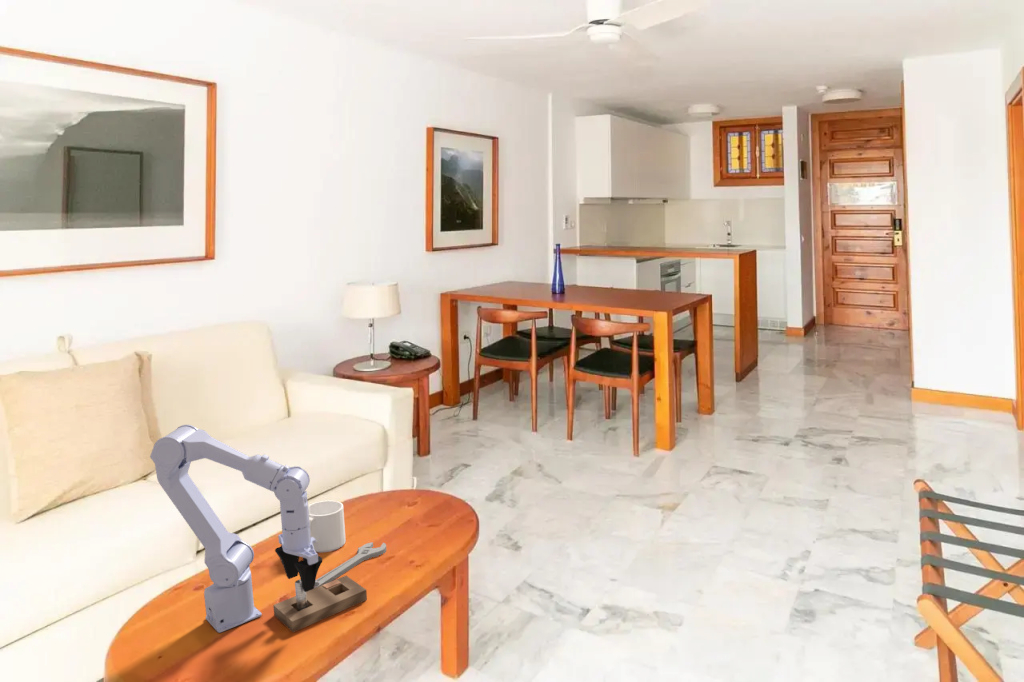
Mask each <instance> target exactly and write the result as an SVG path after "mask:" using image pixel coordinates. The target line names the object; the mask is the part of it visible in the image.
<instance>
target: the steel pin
mask: <svg viewBox="0 0 1024 682" xmlns="http://www.w3.org/2000/svg"><path fill="white" fill-rule="evenodd" d="M294 588H295V596H296V602H297V611H300V610H303V609H305V608H307V595H306V592H305V591H304V590H303V588H302V583H301V579H297V580H296V581H295V582H294Z"/></svg>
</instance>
